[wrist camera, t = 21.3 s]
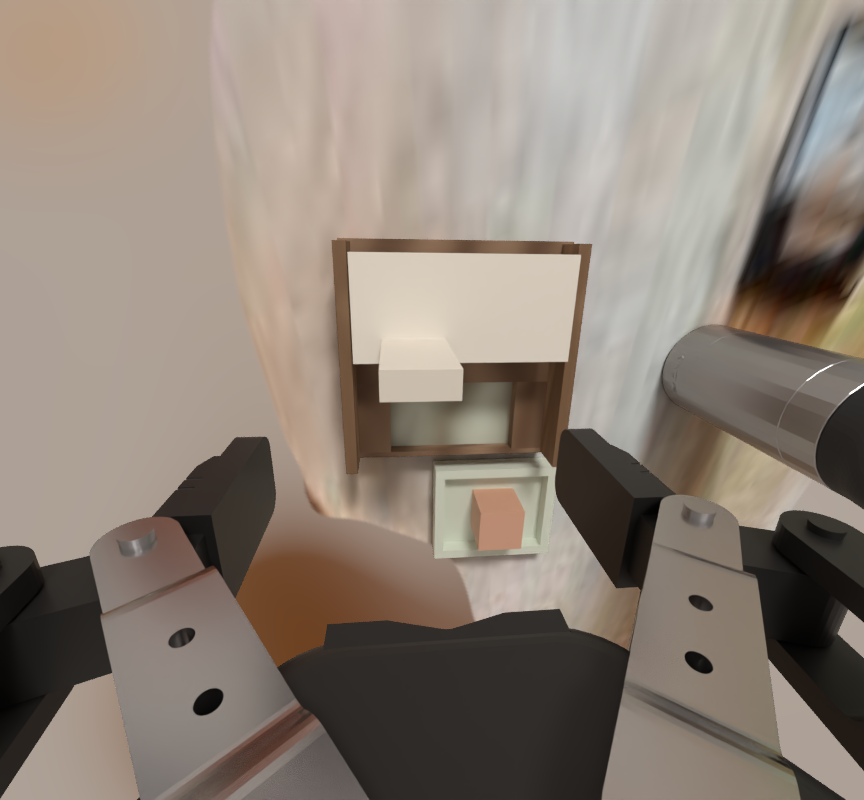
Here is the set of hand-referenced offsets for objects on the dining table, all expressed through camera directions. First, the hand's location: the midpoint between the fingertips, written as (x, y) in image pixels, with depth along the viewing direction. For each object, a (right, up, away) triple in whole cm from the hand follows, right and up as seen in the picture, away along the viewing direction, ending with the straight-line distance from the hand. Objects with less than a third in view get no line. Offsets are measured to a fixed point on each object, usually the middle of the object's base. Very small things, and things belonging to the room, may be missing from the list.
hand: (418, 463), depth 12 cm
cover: (+3, +9, +22) cm, 24 cm away
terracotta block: (+7, -10, +36) cm, 38 cm away
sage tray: (+7, -10, +36) cm, 38 cm away
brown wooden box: (+2, +7, +30) cm, 31 cm away
